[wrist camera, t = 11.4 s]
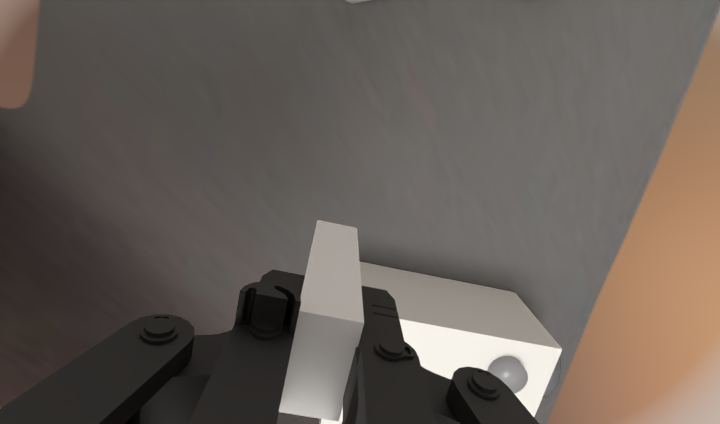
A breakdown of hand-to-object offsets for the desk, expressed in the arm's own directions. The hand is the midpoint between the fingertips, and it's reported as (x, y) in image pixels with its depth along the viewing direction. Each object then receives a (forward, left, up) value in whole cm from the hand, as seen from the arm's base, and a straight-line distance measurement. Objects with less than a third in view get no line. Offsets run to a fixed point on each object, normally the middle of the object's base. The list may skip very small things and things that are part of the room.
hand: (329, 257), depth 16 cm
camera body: (+13, -16, -24) cm, 32 cm away
